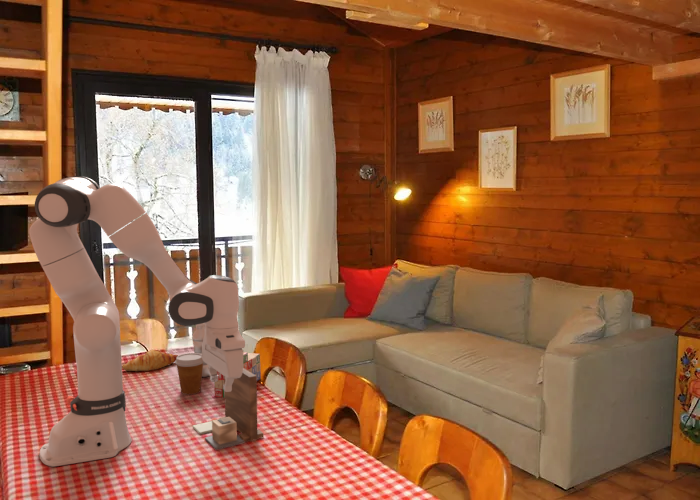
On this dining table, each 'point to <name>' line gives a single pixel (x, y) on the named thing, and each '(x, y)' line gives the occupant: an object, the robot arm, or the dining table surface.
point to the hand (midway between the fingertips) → (220, 386)
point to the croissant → (150, 361)
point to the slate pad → (224, 445)
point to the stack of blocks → (249, 363)
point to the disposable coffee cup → (190, 372)
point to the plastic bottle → (200, 345)
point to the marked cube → (224, 430)
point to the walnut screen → (244, 406)
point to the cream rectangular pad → (203, 427)
